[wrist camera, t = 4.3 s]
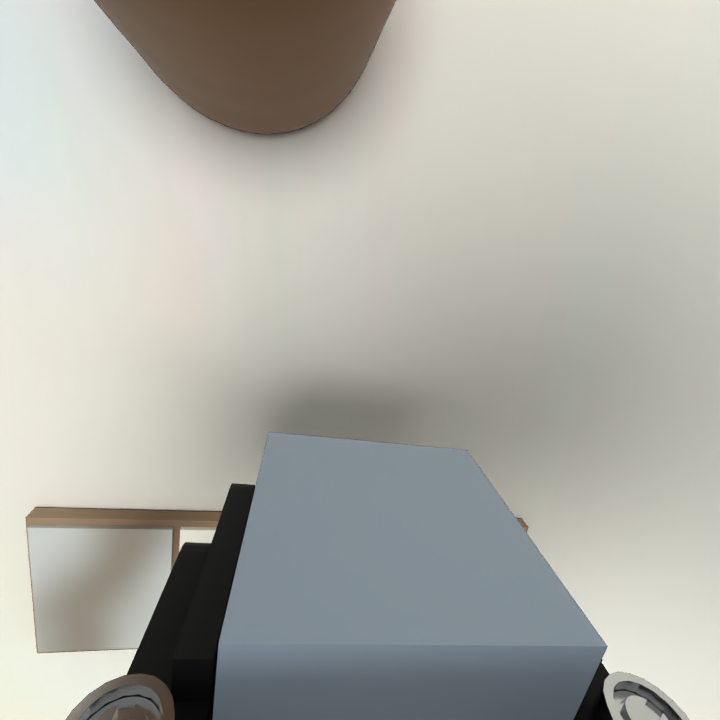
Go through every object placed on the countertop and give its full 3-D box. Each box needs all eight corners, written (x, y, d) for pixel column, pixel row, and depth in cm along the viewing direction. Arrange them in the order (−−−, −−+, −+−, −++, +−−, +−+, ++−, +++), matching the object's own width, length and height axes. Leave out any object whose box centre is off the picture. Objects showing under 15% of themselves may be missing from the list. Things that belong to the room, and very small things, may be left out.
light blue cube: (467, 449, 10) (607, 646, 5) (426, 600, 11) (506, 862, 7) (268, 432, 9) (218, 643, 4) (251, 595, 11) (199, 889, 6)
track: (521, 518, 20) (530, 529, 19) (488, 623, 22) (495, 636, 21) (35, 507, 15) (22, 520, 15) (45, 639, 17) (34, 658, 17)
